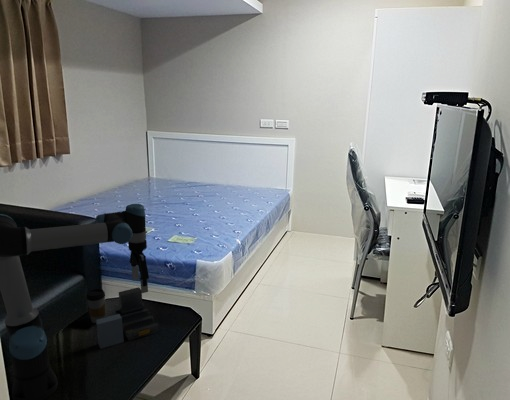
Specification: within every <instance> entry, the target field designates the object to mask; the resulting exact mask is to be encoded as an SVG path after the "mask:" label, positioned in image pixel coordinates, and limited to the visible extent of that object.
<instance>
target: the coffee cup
mask: <svg viewBox="0 0 510 400" xmlns="http://www.w3.org/2000/svg"><path fill="white" fill-rule="evenodd" d="M105 293H106V292H105V291H104V290H103V289H102V288H93V289H91V290H89V291H87V293H86V301H87V307H88V312H89V316H90V320H91V323H93V324H95V323H96V320H98V319H101V318H105V317H106V294H105Z"/></svg>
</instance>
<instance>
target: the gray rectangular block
mask: <svg viewBox="0 0 510 400" xmlns="http://www.w3.org/2000/svg"><path fill="white" fill-rule="evenodd" d="M95 325H96V332H97V334H96V335H97V344H98V347H99V348H100V350H101V349H105V348H107V347H108V348H109V347H111V346H114V345H118V344H122V343H125V340H124V338H125V337H124V331H123V326H122V317H121V316H120V314H117V315H115V314H113V315H109V316H105V318H101V319H98V320H96V324H95Z"/></svg>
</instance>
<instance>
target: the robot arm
mask: <svg viewBox="0 0 510 400" xmlns="http://www.w3.org/2000/svg"><path fill="white" fill-rule="evenodd" d="M147 233H148V231H147V228H146V212H145V206H144V205H143V204H142V203H141V204H140V203H131V204H128V205H126V206H125V210H123V211H122V210H121V211H117V212H108V213H102V214H98V215H96V217H95V223H86V224H85V223H84V224H76V225H65V226H54V227H53V226H52V227H42V228H41V227H40V228H31V229H30V228H29V227H27V226H22V227H21V226H18V225H17V223H16V222H15V220H14V219H13V218H12V217H11V216H10V215H7V214H4V213H0V294H1V297H2V300H3V303H4V304H3V305H4V307H5V311H6V313H7V316H6V318H5V320H4V325H5V328H6V332H7V334H8V338H9V339H8V340H9V341H8V350H9V353H10V358H11V363H12V364H11V365H12V369H13V370H12V371H13V376H14V378H13V384H12V388H11V399H12V398H13V399H12V400H46V399H47V398H49V397H50V396H52V395H53V394H54V393H55V392H56V391H57V389H58V387H57V386H59V381H58V378H57V377H58V376H56V374H55V372H54V370H53V369H52V367H51V363H50V356H49V350H48V349H49V348H48V343H47V342H48V338H47V335H46V332H45V330H44V326H43V325H44V324H43V321H42V319H41V316H40V313H39V310H38V309H37V308H35V307H34V306H33V302H32V299H31V296H30V292H29V289H28V284H27V281H26V277H25V273H24V270H23V266H22V262H21V258H20V256H27V255H28V256H29V254H30V253H31V252H37V251H38V252H39V251H45V250H47V251H48V250H53V249H62V248H71V247H79V246H88V245H95V244H96V245H97V244H105V243H116V244H119V245H125V244H127V243H128V244H127V245H128V247H127V248H128V250H129V251H130V257H129V258H130V259H129V264H130V266H131V277H132V279H131V280H132V281H134V282H135V281H139V280H140V289H141V293H142V294H144V293H145V294H146V293H148V292H149V285H148V281H149V280H148V279H150V276H149V271H148V264H147V258H146V254H145V253H144V252H143V251H145V250H146V249H147V247H148V246H147Z"/></svg>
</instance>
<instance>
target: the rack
mask: <svg viewBox="0 0 510 400" xmlns="http://www.w3.org/2000/svg"><path fill="white" fill-rule="evenodd" d="M118 301H119V307H118V308H114V315H117V314H120V316H121V317H122V326H123V334H124V335H125V336H126V338H127V341H128V342H130V341H133V340H138V339H139V338H144V337H147V336H151V335H154V334H158V333H160V325H159V322H158V323H157V322H155V321H154V319H155V318H154V315H150V312H149V309H148V308H145V303H144V301H143V293H141V287H139V286H138V287H134V288H131V289H127V290H123V291H122V290H121V291H119V292H118Z"/></svg>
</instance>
